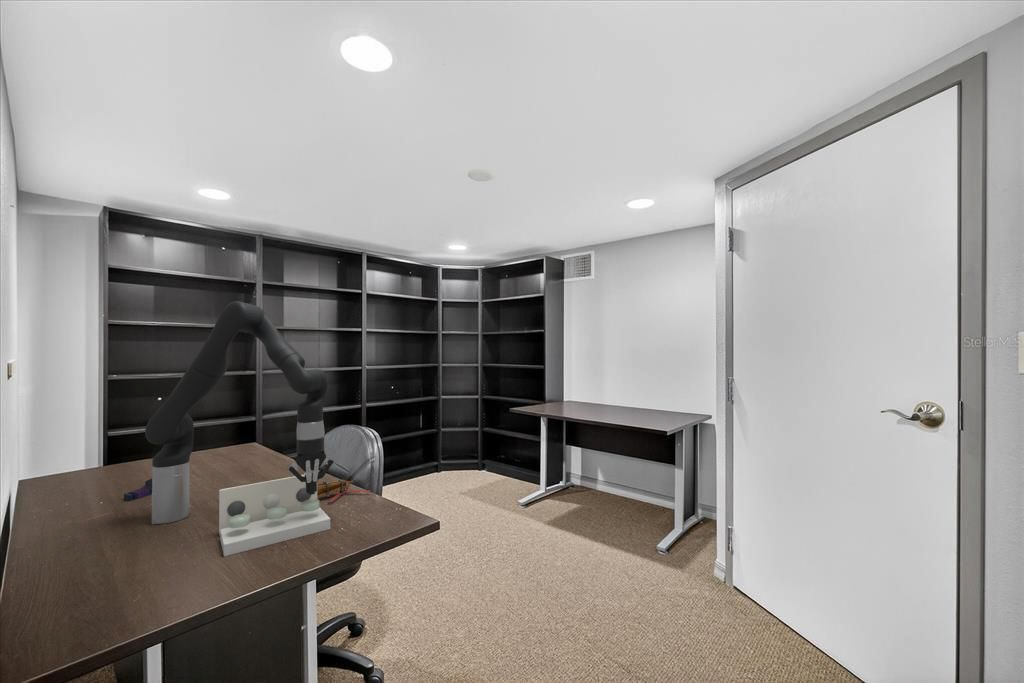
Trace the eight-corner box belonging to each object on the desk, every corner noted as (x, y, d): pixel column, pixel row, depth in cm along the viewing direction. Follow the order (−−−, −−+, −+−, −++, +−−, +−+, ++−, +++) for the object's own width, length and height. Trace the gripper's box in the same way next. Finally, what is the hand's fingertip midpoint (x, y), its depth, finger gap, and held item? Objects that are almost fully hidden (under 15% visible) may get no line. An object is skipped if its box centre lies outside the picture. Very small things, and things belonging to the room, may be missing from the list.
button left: (230, 529, 113) (230, 522, 113) (228, 524, 117) (228, 516, 117) (251, 525, 116) (251, 517, 116) (248, 519, 120) (248, 512, 120)
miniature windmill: (280, 516, 134) (372, 491, 154) (275, 483, 138) (365, 463, 158) (271, 527, 144) (358, 502, 164) (266, 495, 148) (352, 475, 168)
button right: (303, 512, 124) (303, 506, 124) (300, 508, 128) (300, 501, 128) (321, 509, 127) (321, 502, 127) (317, 504, 131) (317, 497, 131)
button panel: (224, 556, 109) (224, 544, 109) (220, 540, 118) (220, 529, 118) (330, 528, 125) (330, 518, 125) (319, 516, 134) (319, 507, 134)
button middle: (268, 521, 118) (268, 513, 118) (265, 515, 122) (265, 508, 122) (287, 516, 121) (287, 509, 121) (284, 511, 125) (284, 504, 125)
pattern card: (219, 537, 120) (219, 491, 120) (218, 532, 123) (218, 487, 124) (317, 514, 136) (317, 473, 137) (314, 510, 139) (314, 470, 140)
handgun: (113, 492, 162) (162, 481, 174) (127, 503, 150) (179, 491, 162) (113, 485, 162) (162, 474, 174) (127, 495, 150) (179, 483, 162)
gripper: (330, 431, 135) (330, 486, 134) (283, 437, 127) (284, 495, 126) (337, 434, 129) (337, 492, 129) (288, 441, 121) (289, 502, 120)
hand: (311, 493), depth 127 cm, fingers closed
